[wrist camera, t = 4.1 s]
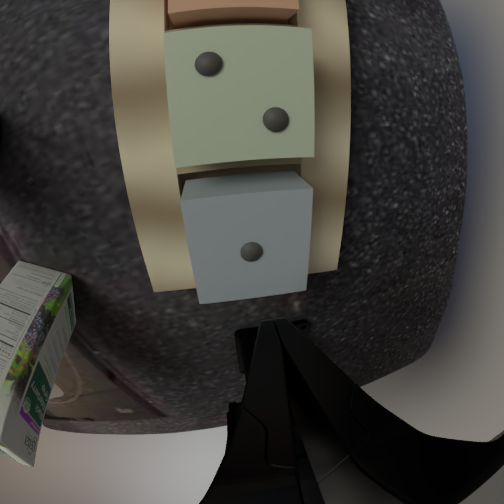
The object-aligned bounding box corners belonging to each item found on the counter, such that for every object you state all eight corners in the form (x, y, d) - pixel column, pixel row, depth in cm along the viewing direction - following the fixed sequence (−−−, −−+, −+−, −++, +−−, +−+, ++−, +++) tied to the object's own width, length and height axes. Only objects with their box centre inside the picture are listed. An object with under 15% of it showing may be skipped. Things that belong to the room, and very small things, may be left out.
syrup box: (78, 322, 20) (39, 472, 8) (27, 306, 18) (-26, 437, 6) (73, 273, 17) (3, 448, 5) (17, 257, 16) (-67, 399, 4)
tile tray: (324, 251, 20) (336, 269, 18) (159, 270, 18) (154, 292, 16) (320, -45, 8) (335, -59, 6) (126, -38, 7) (116, -53, 5)
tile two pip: (293, 144, 13) (315, 157, 10) (182, 153, 13) (175, 168, 10) (290, 41, 10) (312, 27, 7) (173, 47, 10) (163, 32, 7)
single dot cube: (291, 259, 17) (306, 291, 14) (200, 270, 16) (199, 305, 14) (293, 170, 14) (314, 189, 11) (185, 180, 13) (180, 201, 11)
